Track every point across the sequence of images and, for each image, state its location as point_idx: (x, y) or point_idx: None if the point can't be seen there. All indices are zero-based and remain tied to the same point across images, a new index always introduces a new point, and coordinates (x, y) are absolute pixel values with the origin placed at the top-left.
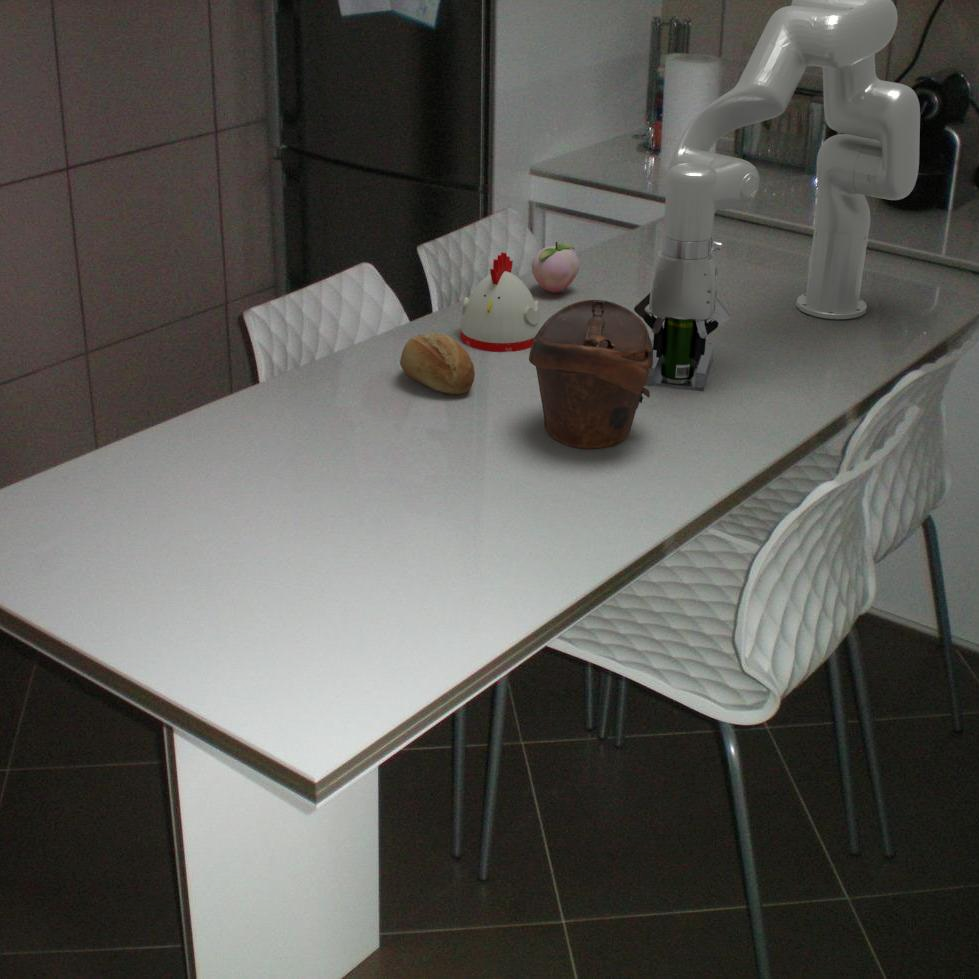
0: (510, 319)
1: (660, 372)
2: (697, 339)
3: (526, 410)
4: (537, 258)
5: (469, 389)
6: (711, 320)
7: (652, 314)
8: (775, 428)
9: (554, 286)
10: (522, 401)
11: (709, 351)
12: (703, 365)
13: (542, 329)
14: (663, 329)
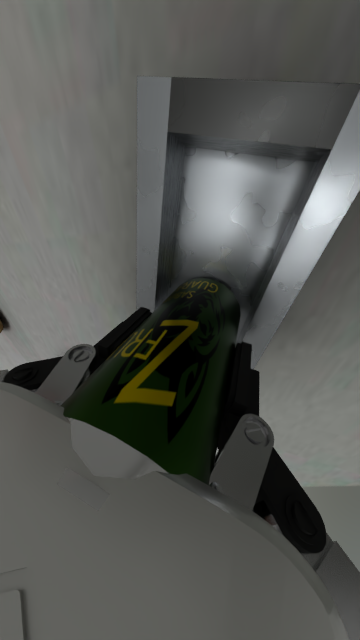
0: None
1: (176, 271)
2: None
3: (60, 356)
4: None
5: (1, 327)
6: (277, 522)
7: (28, 386)
8: (328, 458)
9: None
10: (48, 339)
11: (332, 214)
12: (262, 331)
13: None
14: (110, 353)
